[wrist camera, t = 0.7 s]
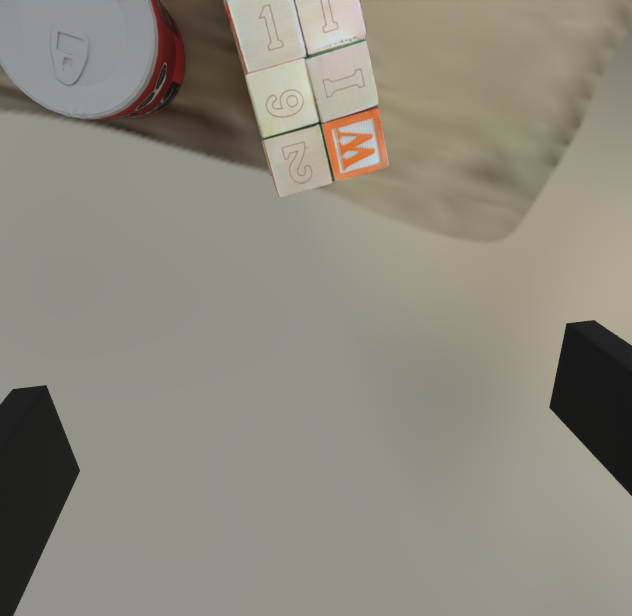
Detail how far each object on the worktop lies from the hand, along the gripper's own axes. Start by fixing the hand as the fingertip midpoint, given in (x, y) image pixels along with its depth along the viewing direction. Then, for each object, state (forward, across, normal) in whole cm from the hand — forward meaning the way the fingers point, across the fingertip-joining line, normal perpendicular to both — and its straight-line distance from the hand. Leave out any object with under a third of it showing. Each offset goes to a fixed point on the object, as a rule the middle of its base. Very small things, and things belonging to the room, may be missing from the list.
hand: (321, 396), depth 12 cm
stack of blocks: (+28, +1, +12) cm, 30 cm away
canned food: (+28, -9, +10) cm, 31 cm away
